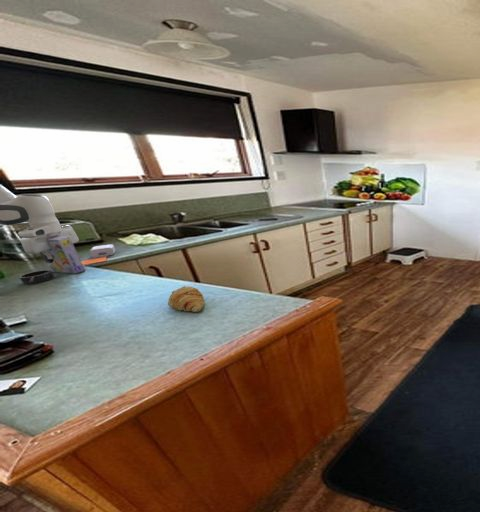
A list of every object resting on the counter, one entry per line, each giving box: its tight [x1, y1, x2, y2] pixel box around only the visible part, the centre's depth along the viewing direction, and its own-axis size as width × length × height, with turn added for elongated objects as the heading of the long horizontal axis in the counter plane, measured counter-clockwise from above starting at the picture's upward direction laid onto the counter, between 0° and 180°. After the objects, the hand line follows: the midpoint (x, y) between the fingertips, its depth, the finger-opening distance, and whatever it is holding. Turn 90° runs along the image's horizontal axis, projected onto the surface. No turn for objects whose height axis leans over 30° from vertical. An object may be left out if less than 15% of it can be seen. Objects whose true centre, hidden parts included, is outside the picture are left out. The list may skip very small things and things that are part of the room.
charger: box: [89, 243, 116, 259], centre depth 160 cm, size 5×9×15 cm
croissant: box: [167, 286, 205, 313], centre depth 98 cm, size 21×10×8 cm
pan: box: [19, 269, 55, 285], centre depth 123 cm, size 9×9×4 cm
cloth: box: [81, 256, 108, 266], centre depth 147 cm, size 10×10×1 cm
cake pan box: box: [39, 236, 86, 275], centre depth 131 cm, size 19×5×18 cm, turn 75°
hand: (59, 256), depth 132 cm, fingers closed on cake pan box, 5 cm apart
